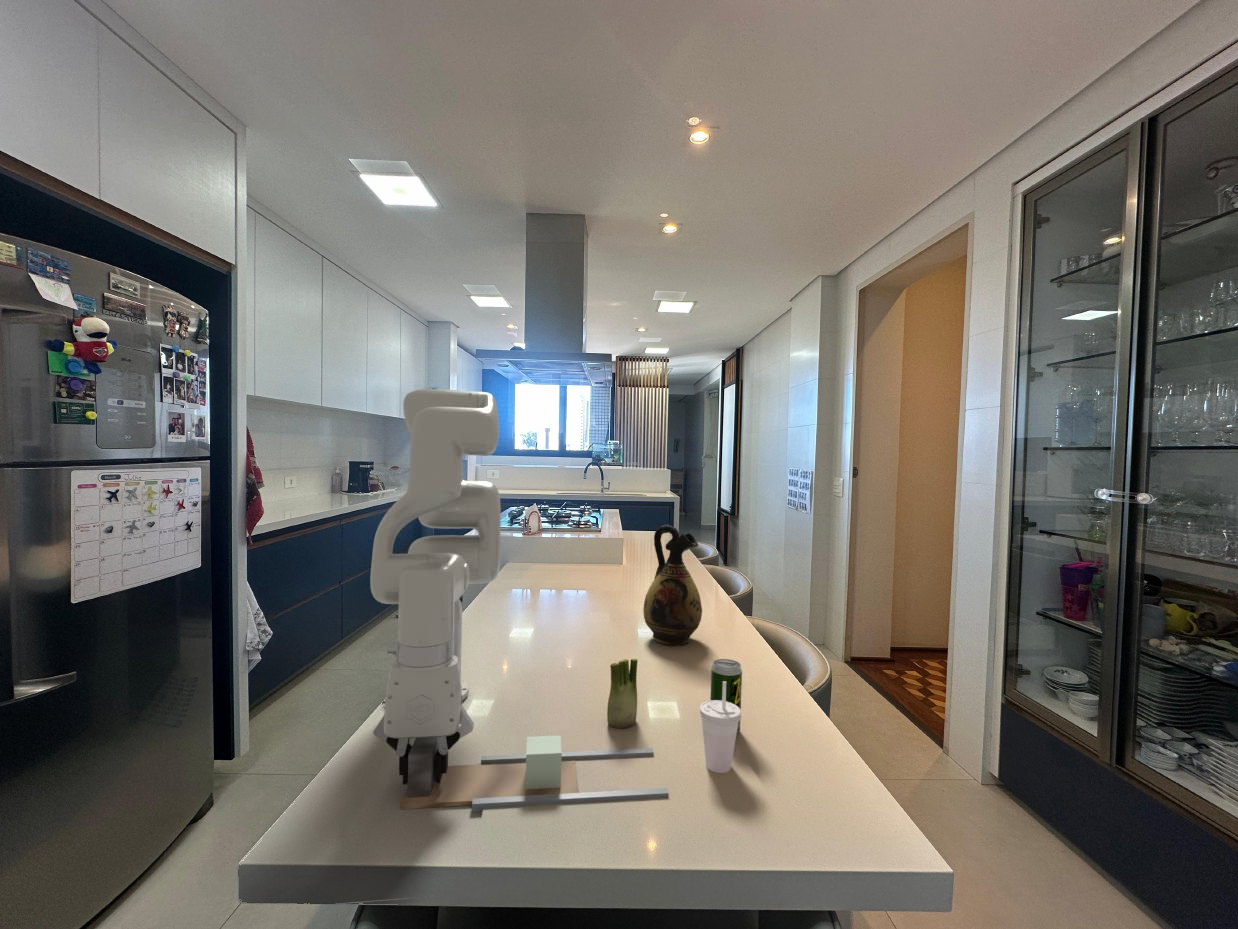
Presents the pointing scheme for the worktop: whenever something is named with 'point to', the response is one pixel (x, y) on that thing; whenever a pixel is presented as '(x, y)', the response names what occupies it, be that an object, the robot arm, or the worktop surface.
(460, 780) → the strip
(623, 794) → the lane rails
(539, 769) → the block
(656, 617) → the ceramic jug
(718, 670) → the beer can
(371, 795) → the worktop surface
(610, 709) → the fennel bulb
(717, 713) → the smoothie
